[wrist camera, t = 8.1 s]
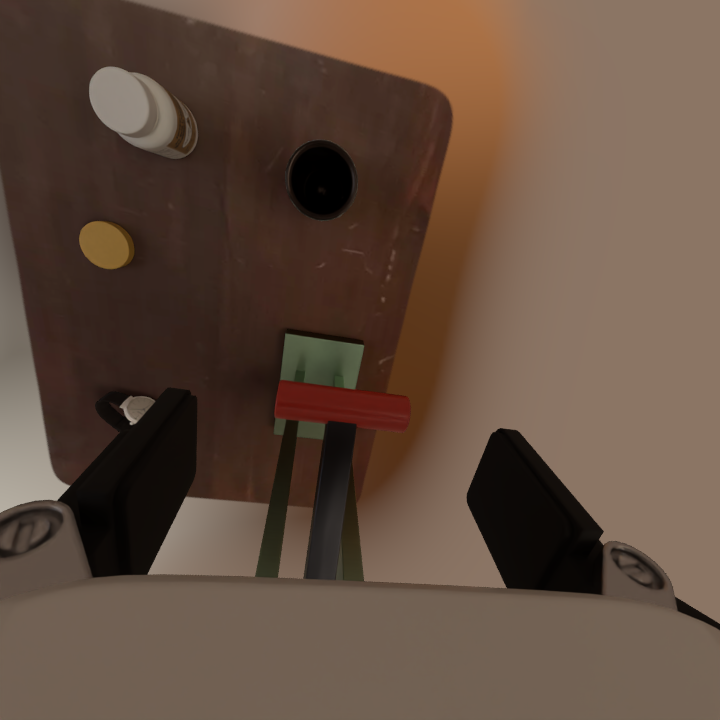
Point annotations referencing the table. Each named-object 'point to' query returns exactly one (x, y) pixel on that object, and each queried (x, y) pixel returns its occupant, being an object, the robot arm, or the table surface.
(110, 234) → the brass blank
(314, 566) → the lever
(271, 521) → the hand press
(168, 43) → the table surface
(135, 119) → the pill bottle
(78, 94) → the table surface
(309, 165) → the planter
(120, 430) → the watch
